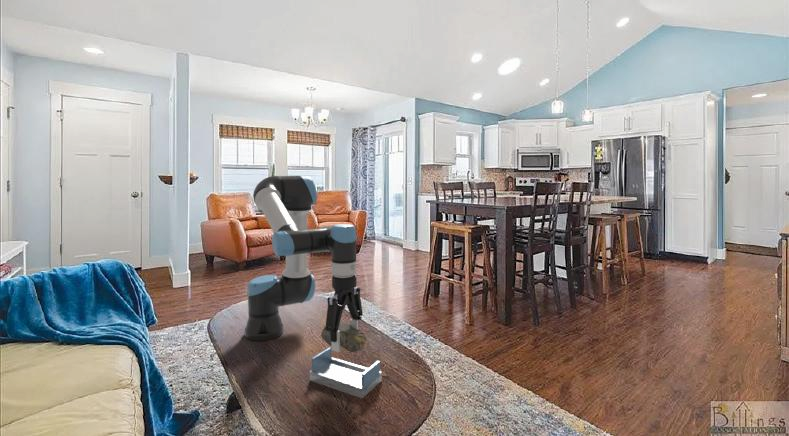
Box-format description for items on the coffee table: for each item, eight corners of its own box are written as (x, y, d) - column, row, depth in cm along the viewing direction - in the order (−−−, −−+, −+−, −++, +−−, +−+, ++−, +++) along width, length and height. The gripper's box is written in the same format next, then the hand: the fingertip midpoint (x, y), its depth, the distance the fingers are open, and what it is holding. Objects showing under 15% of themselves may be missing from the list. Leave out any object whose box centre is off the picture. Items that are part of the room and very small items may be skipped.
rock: (375, 331, 121) (356, 334, 112) (371, 353, 120) (351, 357, 112) (335, 318, 130) (314, 319, 122) (331, 338, 129) (310, 341, 121)
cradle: (309, 380, 122) (309, 359, 121) (331, 365, 132) (331, 346, 131) (362, 398, 112) (361, 375, 112) (381, 380, 122) (381, 360, 121)
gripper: (331, 285, 107) (333, 362, 109) (373, 268, 126) (373, 334, 128) (311, 281, 111) (312, 356, 113) (354, 266, 129) (355, 330, 132)
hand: (345, 344), depth 121 cm, fingers closed on rock, 9 cm apart
